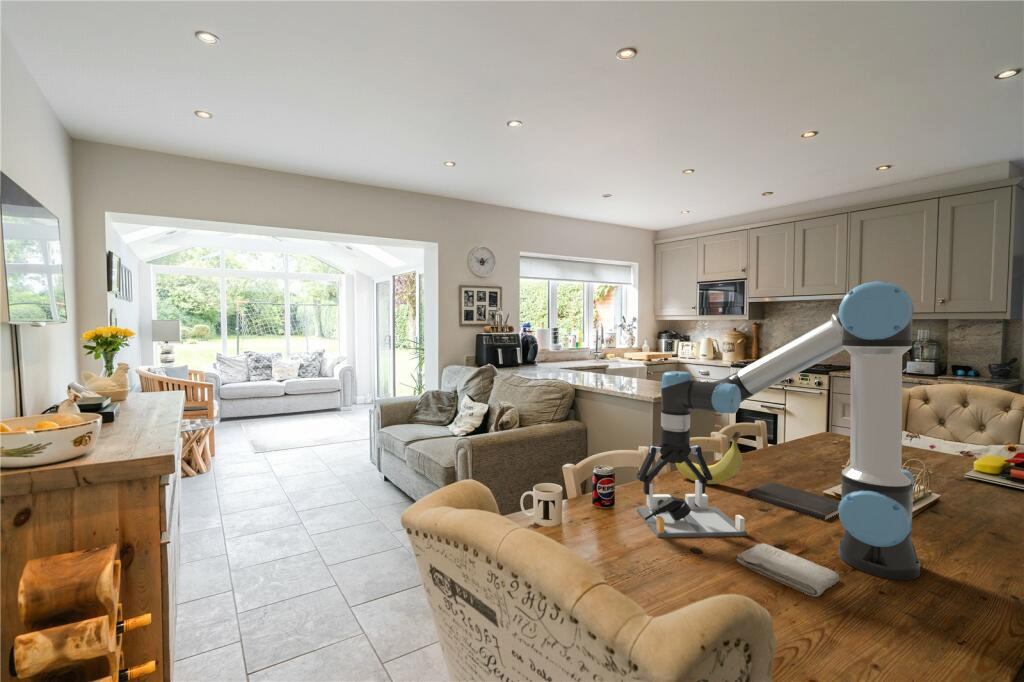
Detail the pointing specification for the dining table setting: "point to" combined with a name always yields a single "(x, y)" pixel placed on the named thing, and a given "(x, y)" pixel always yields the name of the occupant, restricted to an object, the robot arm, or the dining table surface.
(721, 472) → the banana
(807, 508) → the hardcover book
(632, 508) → the dining table surface
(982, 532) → the dining table surface
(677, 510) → the power plug
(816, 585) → the washcloth
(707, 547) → the dining table surface
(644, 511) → the board
